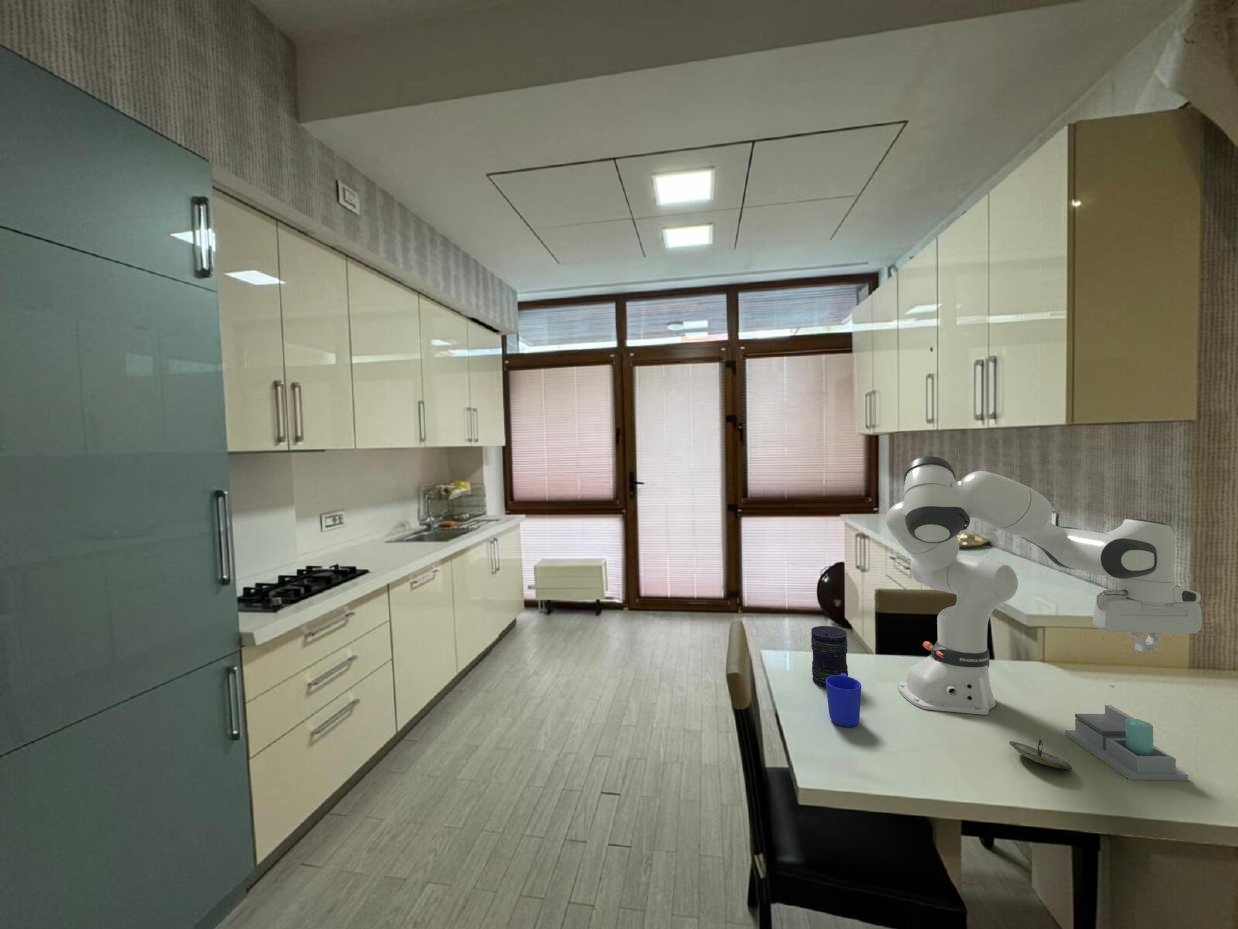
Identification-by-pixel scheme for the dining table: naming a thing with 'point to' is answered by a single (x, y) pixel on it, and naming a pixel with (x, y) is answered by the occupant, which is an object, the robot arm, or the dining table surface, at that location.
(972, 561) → the robot arm
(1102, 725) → the slide lid
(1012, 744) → the lid
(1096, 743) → the housing
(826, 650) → the storage jar
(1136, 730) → the jaw peg
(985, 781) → the dining table surface
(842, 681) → the mug
